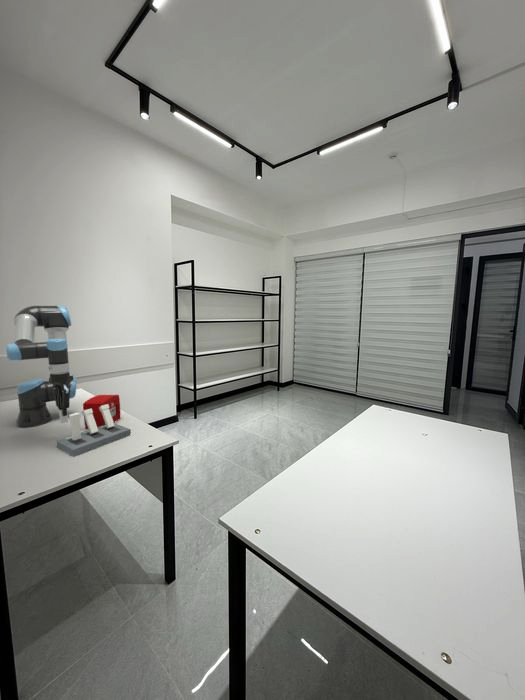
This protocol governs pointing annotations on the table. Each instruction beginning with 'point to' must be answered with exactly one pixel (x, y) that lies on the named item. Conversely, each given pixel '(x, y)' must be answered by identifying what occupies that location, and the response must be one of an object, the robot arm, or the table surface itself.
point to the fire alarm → (99, 401)
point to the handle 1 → (90, 421)
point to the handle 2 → (107, 416)
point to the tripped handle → (75, 426)
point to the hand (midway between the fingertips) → (64, 422)
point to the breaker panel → (92, 439)
